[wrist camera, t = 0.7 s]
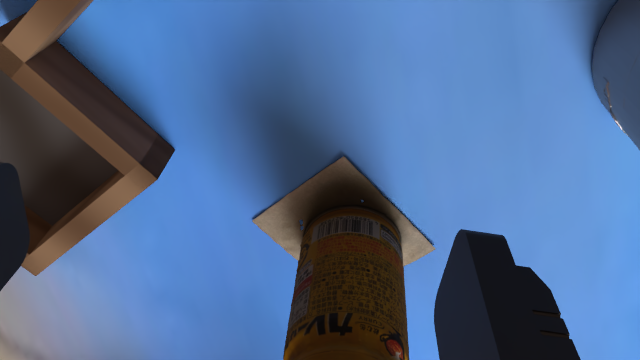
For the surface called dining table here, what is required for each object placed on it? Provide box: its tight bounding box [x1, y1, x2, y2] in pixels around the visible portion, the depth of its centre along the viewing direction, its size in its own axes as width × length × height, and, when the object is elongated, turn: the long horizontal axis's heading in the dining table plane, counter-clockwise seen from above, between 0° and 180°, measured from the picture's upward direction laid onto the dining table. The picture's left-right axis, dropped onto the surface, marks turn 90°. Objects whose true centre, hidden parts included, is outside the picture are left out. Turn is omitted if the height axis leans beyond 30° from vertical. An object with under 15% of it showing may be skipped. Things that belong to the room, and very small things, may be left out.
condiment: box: [252, 157, 435, 360], centre depth 28 cm, size 7×8×12 cm
